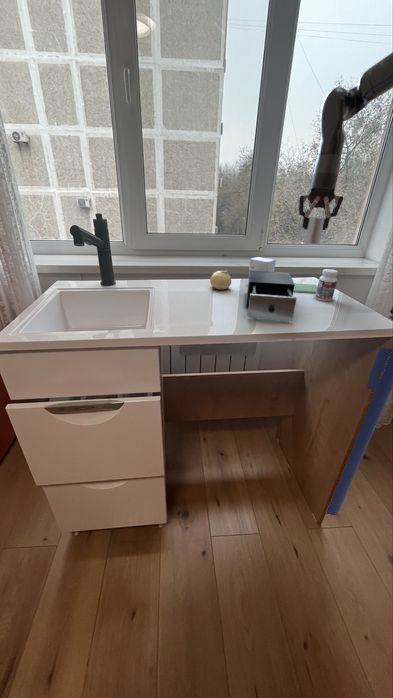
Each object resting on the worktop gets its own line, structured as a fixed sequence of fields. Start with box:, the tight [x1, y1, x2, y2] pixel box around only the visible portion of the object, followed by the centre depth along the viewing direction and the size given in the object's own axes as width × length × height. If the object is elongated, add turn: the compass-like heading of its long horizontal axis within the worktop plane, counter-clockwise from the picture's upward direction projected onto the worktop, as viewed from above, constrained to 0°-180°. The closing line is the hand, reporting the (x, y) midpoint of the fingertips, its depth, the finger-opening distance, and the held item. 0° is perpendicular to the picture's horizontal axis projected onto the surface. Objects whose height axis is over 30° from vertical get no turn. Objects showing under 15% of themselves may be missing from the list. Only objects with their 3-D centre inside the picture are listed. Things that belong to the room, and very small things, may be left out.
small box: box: [247, 256, 276, 280], centre depth 110 cm, size 8×6×10 cm
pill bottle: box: [314, 268, 339, 302], centre depth 99 cm, size 6×6×10 cm
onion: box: [209, 269, 232, 291], centre depth 108 cm, size 8×8×7 cm
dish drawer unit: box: [245, 269, 295, 309], centre depth 95 cm, size 15×14×9 cm
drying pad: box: [293, 282, 317, 294], centre depth 111 cm, size 10×10×1 cm
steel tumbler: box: [302, 216, 325, 245], centre depth 99 cm, size 6×6×8 cm
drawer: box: [247, 284, 298, 322], centre depth 85 cm, size 15×12×7 cm
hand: (314, 229), depth 99 cm, fingers closed on steel tumbler, 5 cm apart
